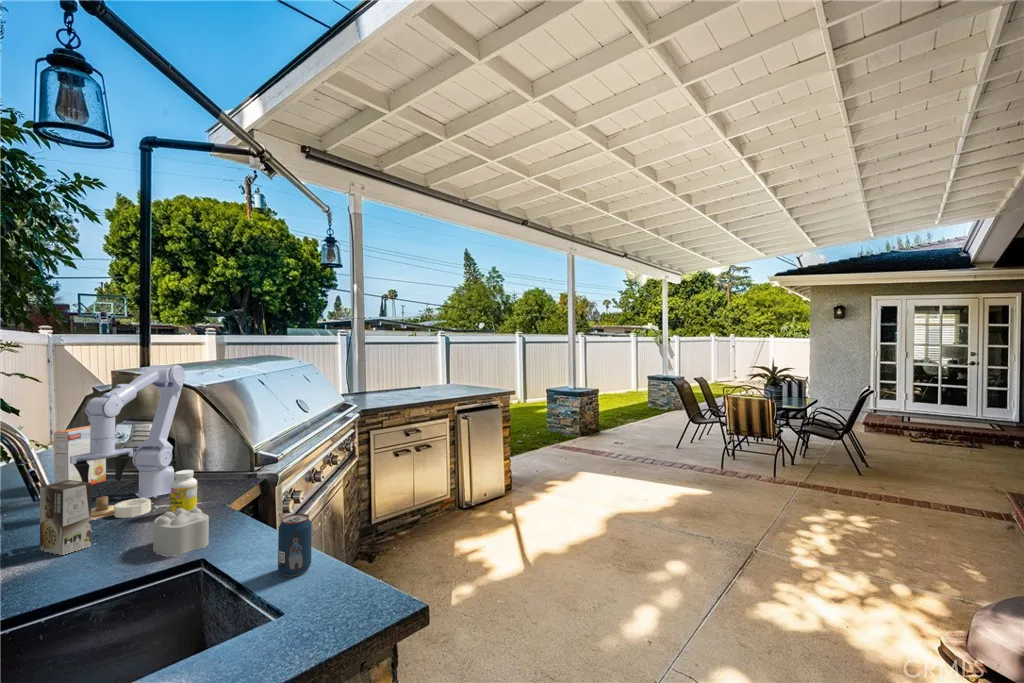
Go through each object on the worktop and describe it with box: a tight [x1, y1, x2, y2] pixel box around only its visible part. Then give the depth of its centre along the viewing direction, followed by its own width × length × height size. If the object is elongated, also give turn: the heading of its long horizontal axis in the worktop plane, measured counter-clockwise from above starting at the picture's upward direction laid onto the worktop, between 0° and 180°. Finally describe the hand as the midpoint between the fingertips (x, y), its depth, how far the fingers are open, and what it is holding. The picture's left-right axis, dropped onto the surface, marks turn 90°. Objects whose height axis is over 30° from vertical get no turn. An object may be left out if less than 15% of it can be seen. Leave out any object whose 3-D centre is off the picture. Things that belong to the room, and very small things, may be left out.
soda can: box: [277, 513, 313, 577], centre depth 110 cm, size 7×7×12 cm
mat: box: [91, 513, 114, 521], centre depth 145 cm, size 10×10×1 cm
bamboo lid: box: [91, 495, 115, 517], centre depth 145 cm, size 8×8×4 cm
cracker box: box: [53, 425, 107, 486], centre depth 172 cm, size 14×6×21 cm, turn 174°
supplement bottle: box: [169, 469, 198, 512], centre depth 145 cm, size 7×7×13 cm
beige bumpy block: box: [152, 507, 210, 556], centre depth 123 cm, size 10×13×9 cm
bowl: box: [113, 497, 152, 519], centre depth 145 cm, size 8×8×4 cm
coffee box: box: [39, 480, 93, 556], centre depth 121 cm, size 9×6×16 cm
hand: (102, 483), depth 145 cm, fingers open, 7 cm apart
